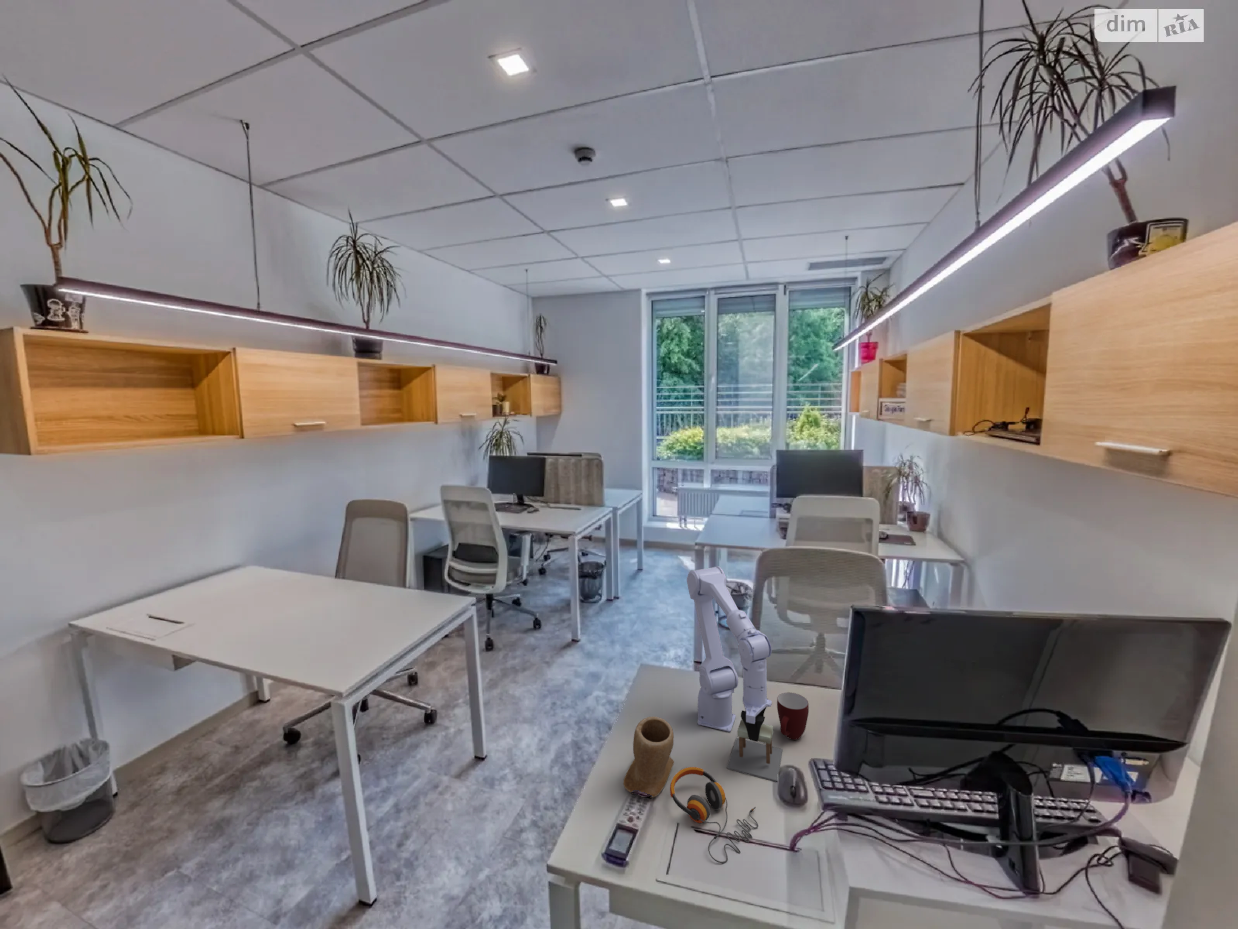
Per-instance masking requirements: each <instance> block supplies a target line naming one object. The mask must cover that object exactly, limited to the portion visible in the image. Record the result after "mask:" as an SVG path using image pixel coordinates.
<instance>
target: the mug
mask: <svg viewBox="0 0 1238 929" xmlns="http://www.w3.org/2000/svg"><path fill="white" fill-rule="evenodd" d="M809 705H810V704H809V701H808V699H807V697H805V696H803V695H802V694H799V693H796V692H789V691H788V692H783V693H780V694H779V695H778V696H777V697H776V708H777V713H778V714H777V715H778V721H779V725H780V727H779V729H780V730H779V731H780V733H781V734H782V735H783V736H785V737H786V738H788V739H789V740H793V741H794V740H795V741H797V740H799V739H800V738H801V737H802V736H803V734H804V733H805V731H806V729H807V728H806V727H807V723H808V719H809V718H808V717H809V711H810V710H809V708H810V707H809Z"/></svg>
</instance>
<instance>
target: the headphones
mask: <svg viewBox="0 0 1238 929" xmlns="http://www.w3.org/2000/svg"><path fill="white" fill-rule="evenodd" d="M688 775H697V776H703V777H705V778H707V779H708V780H709V781H708V782H707V783H705V789H704V790H705V791H704V792H705V797H706V800H705V799H704V798H703V797H702V796H700V795H698V794H691V795H690V796H689V797H688V799H687V801H686V802H687V803H686V805H684V804H683V803H682V802H681V801H680V800H679V799H678V798H677V797H676V792H675V786H676V783H677V782H678V781H679V780H680V779H681V778H683V777H685V776H688ZM669 793H670V798H672V800H673V802H674V803H675V805H677V807H678V808H680V809H681V810H682V812H684V813H685V814H687V815H688V817H689V818H690V819H691V820H692V821H694V822H695V823H697V824H702V823H706V824H717V825H718V827H719V830H718V833H717V834H716V835H714V836H713V838H712V839H711V840H710V842H709V844H708V848H707V849H708V854H709V856H710V858H711V859H712V860H713V861H715V862H716V863H719V864H724V863H728V860H729V859H728V858H729V857H728V854H727V850H726V847H727V846H729V847H730V848H731V849H733V851H735V852H736V853H737V854H739V855H740V854H741V852H742V851H740V848H739V847H738V846H737V845H736V844H735V843H734V841H733V840H732V839H731V838H730V837H729V835H730V836H731V837H733V839H734V840H735V842H738V843H739V842H740V841H741V840H743V841H744V842H745V843H748V844H749V843H750V839H753V834H751V833H750V832H749V831H752V829H753V830H754V829H758V827H759V823H758V822H757V821H756V820H755V818H754V817H753V816H752V815H751V814H752V813H753V812H754V810H756V808H757V807H756V806H754V807H753V808H751V809H750V810H749V812H748V814H749V815H748V816H749V817H750V818H751V820H753V821H754V822H755V823H756V827H754V826H752V825H751V824H750V823H749V821H747V820H746V819H745V818H743V819H742V820H740V819H739V818H738V819H736V823H737V824H738V826H740V828H742V830H741V833H742V835H743V836H744V837H745V838H744V837H743V836H742V835H741V834H740V833H739V832H738V831H737V830H734V831H733V833H734V834H732V833H731V832H729V831H728V832H726V837H727V839H728V840H729V841H730V842H731V844H732V845H733V846H732V845H731V844H729V843H725V844H724V846H723V849H724V853H725V855H726V856H725V857H726V860H725V861H720V860H717V859H716V858H715V857H713V855H712V854H711V851H710V846H711V844H712V842H713V841H714V840H716V839H717V838H718V837H719V836H720V835H721V834H722V833H723V831H724V830H725V828H726V827H727V823H728V811H727V810H728V809H727V808H728V801H727V798H726V793H725V790H724V788H723V786H722V785H721V783H719V782H717V780H716V779H715V778H714V777H713V776H712V774H710V773H708V771H705V770H704V769H703V768H701V767H696V766H690V767H686V768H682V769H681V770H679V771H677V772H676V773H675V774H674V775H673V777H672V779H671V781H670V786H669ZM725 804H726V805H725ZM723 805H725V811H724V812H725V815H726V817H725V818H726V819H725V823H724V826H723V827H722V826H721V825H720V823H719V822H717V821H708V820H709V818H710V816H711V813H712V812H711V808H712V809H713V810H715V811H717V810H720V809H721V808H722V806H723ZM710 807H711V808H710ZM721 827H722V829H721ZM747 830H748V831H747ZM728 834H729V835H728ZM734 835H735V836H736V837H737V838H736V837H735V836H734ZM740 838H741V840H740Z"/></svg>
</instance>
